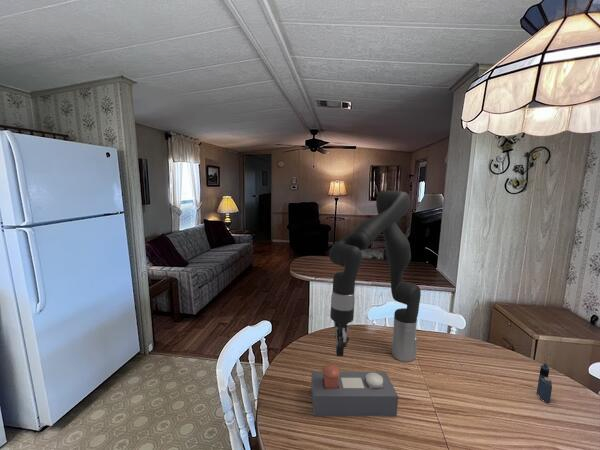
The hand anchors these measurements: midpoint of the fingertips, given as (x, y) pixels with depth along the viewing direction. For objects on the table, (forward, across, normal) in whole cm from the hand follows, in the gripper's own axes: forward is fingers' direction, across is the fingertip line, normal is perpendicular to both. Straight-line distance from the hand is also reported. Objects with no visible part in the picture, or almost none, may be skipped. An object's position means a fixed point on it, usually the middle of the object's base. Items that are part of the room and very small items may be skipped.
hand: (339, 354), depth 93 cm
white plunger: (+16, +1, -13) cm, 21 cm away
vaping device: (+17, +2, -75) cm, 77 cm away
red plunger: (+13, +1, +2) cm, 14 cm away
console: (+18, +1, -5) cm, 18 cm away
